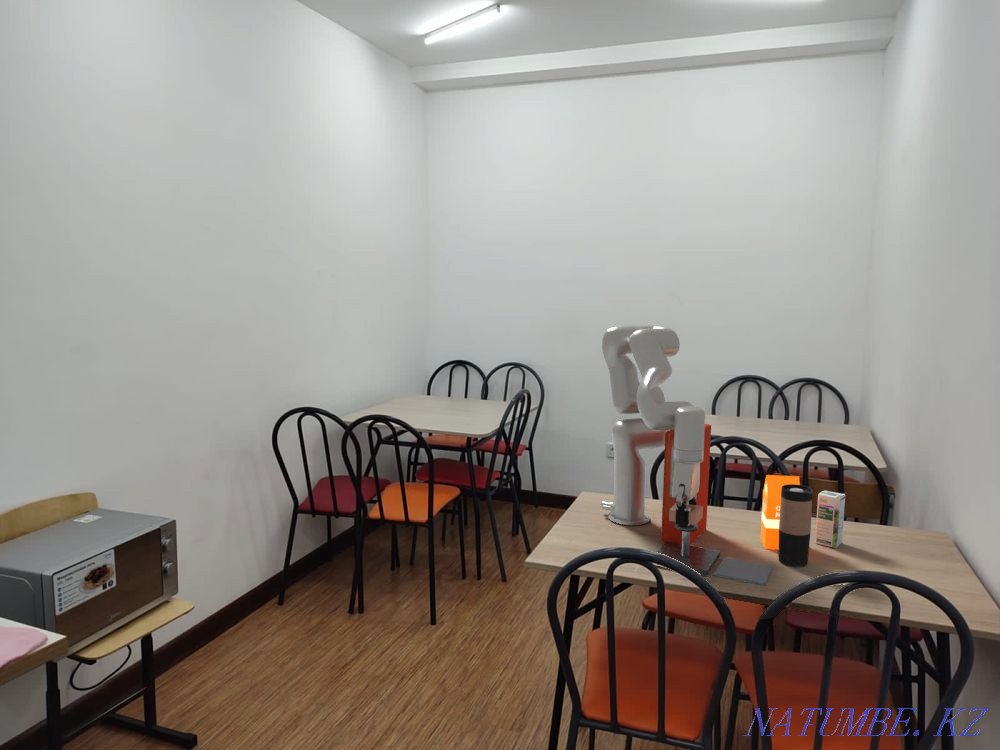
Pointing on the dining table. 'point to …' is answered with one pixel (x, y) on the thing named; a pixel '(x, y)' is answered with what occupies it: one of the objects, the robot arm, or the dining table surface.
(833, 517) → the syrup box
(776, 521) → the orange juice
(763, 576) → the mat
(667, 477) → the file binder
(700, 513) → the collar
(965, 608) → the dining table surface
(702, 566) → the stand
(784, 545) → the travel mug
